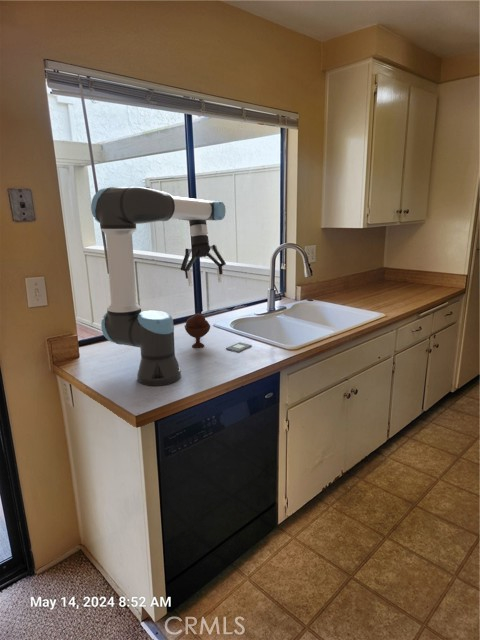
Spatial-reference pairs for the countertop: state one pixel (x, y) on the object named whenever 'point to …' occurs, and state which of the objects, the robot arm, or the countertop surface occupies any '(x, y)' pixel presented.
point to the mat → (238, 347)
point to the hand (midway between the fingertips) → (205, 284)
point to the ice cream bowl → (197, 328)
